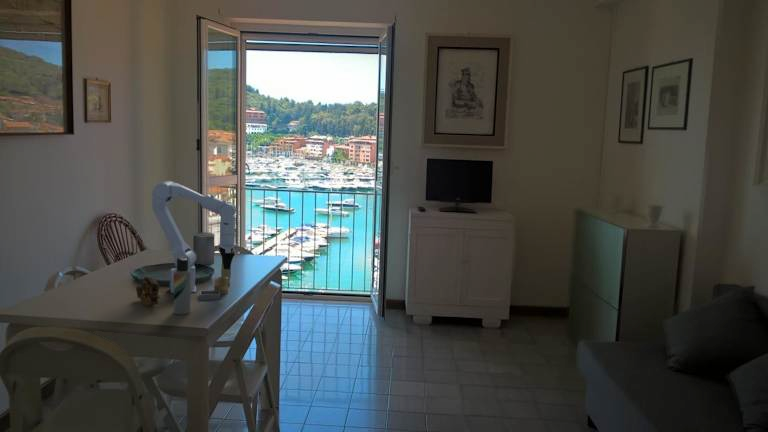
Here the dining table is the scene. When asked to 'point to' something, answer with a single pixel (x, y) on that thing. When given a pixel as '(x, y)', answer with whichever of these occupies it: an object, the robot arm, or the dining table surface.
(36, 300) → the dining table surface
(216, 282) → the tan brown block
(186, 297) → the lotion bottle
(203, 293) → the end cap
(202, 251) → the pillar candle
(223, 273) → the handle
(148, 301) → the wooden carving
